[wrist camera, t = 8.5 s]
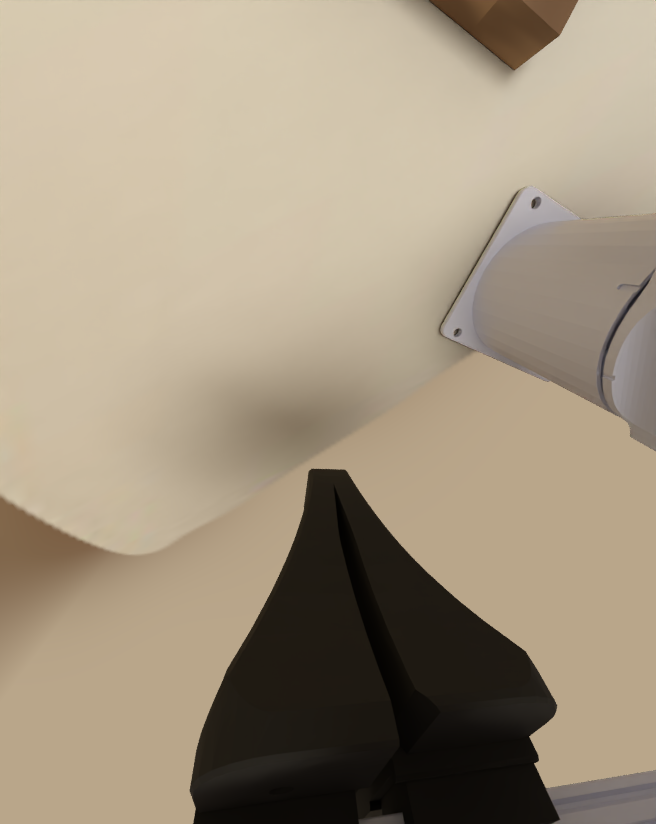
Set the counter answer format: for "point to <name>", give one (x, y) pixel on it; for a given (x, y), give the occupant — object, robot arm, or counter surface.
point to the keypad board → (510, 24)
